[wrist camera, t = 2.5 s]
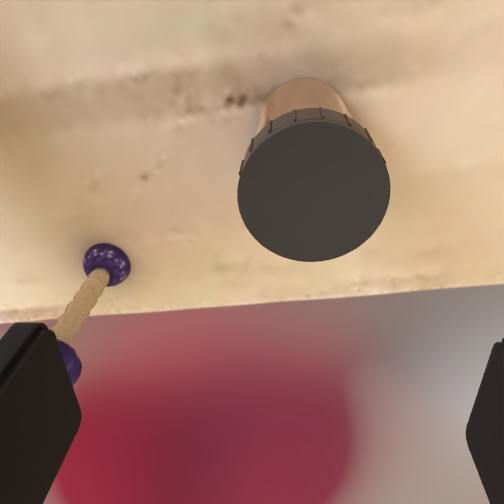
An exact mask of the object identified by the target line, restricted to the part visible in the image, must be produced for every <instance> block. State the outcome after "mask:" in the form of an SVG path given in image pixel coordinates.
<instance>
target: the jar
mask: <svg viewBox="0 0 504 504" xmlns="http://www.w3.org/2000/svg"><path fill="white" fill-rule="evenodd" d="M319 107H322V108H324V109H330V110H334V111H337V112H340V113H342V114H345V113H346V114H347V116H348V117H350V118H352V117H351V115H350V113H349V111H348V109H347V107H346V105H345V103H344V101H343V99H342V97H341V96H340V94H339V93H338V92H337V91H336V90H335V89H334V88H333V87H332V86H330V85H329V84H327V83H325V82H323V81H321V80H317V79H313V78H298V79H294V80H290V81H288V82H286V83H284V84H282V85H280V86H279V87H278V88H276V89H275V90H274V91H273V92H272V93H271V94H270V96H269V97H268V98H267V100H266V102H265V103H264V106H263V108H262V111H261V114H260V119H259V125H258V130H257V134H258V133H259V131H260V130H261V129H262V128H264V127H265V126H266V125H267V124H268V123H269V121H270V120H271V121H272V120H274V119H275V118H277V117H279V116H281V115H283V114H285V113H288V112H290V111H293V109H295V110H298V109H303V108H319Z"/></svg>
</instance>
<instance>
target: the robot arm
mask: <svg viewBox="0 0 504 504" xmlns="http://www.w3.org/2000/svg"><path fill="white" fill-rule="evenodd" d="M80 423H81V410H80V407H79V404H78V401H77V398H76V395H75V392H74V389H73V386H72V383H71V380H70V377H69V374H68V371H67V368H66V365H65V362H64V359H63V356H62V353H61V350H60V347H59V344H58V341H57V338H56V335H55V333H54V332H53V331H52V330H49V329H48V328H47V326H46V325H45V324H43V323H19V322H18V323H15V324H14V325H12V327H10V329H9V330H8V331H7V332H6V333H5V335H4V336H3V337H2V338H1V340H0V504H43V502H44V500H45V498H46V496H47V494H48V492H49V490H50V488H51V486H52V483H53V481H54V479H55V477H56V475H57V473H58V471H59V469H60V467H61V465H62V462H63V460H64V458H65V456H66V454H67V452H68V450H69V448H70V446H71V443H72V441H73V439H74V437H75V435H76V433H77V431H78V429H79V426H80ZM466 439H467V444H468V447H469V450H470V452H471V455H472V458H473V460H474V463H475V465H476V468H477V470H478V473H479V476H480V478H481V481H482V484H483V486H484V489H485V491H486V494H487V497H488V499H489V502H490V504H504V338H503V340H502V342H497V343H495V344H494V346H493V348H492V351H491V354H490V357H489V360H488V363H487V366H486V369H485V372H484V376H483V378H482V381H481V385H480V388H479V391H478V394H477V397H476V400H475V403H474V406H473V409H472V412H471V415H470V418H469V421H468V424H467V427H466Z"/></svg>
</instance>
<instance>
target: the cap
mask: <svg viewBox="0 0 504 504" xmlns="http://www.w3.org/2000/svg"><path fill="white" fill-rule="evenodd" d="M385 164H386V161H385V160H384V158H383V156H382V154H381V152H380V151H379V149H377V147H376V145H375V144H374V142H373V140H372V138H371V136H370V134H369V132H368V131H367V129H366V128H365V129H364V128H363V127H362V126H361V125H360V124H358V123H357V122H356V121H355V120H353V119H352V118H350V117H348V116H347V114H346V113H345V114H342V113H340V112H337V111H334V110H330V109H324V108H322V107H319V108H303V109H298V110H295V109H293V111H290V112H288V113H285V114H283V115H281V116H279V117H277V118H275V119H274V120H272V121H271V120H270V121H269V123H268V124H267V125H266V126H265V127H264V128H262V129H261V130H260V131H259V133H258V134H257V135H256V136H255V138H252V140H251V144H250V146H249V147H248V150H247V152H246V154H245V158H244V160H242V163H241V167H240V171H239V175H240V178H239V183H238V191H237V192H238V197H237V198H238V206H239V210H240V214H241V217H242V219H243V221H244V224H245V226H246V227H247V229H248V230H249V232H250V233H251V234H252V236H253V237H254V238H255V239H256V240H257V241H258V242H259V243H260V244H261V245H263V246H264V247H265V248H267V249H268V250H270V251H272V252H273V253H275V254H277V255H280V256H282V257H285V258H288V259H292V260H297V261H304V262H316V261H325V260H330V259H334V258H337V257H340V256H342V255H345V254H347V253H349V252H351V251H353V250H354V249H356V248H357V247H359V246H360V245H362V244H363V243H364V242H365V241H366V240H367V239H368V238H370V237H371V235H372V234H373V233H374V232H375V231H376V229H377V228H378V226H379V225H380V223H381V222H382V220H383V218H384V215H385V213H386V210H387V207H388V204H389V198H390V179H389V174H388V170H387V167H386V165H385Z"/></svg>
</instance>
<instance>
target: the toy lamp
mask: <svg viewBox="0 0 504 504" xmlns="http://www.w3.org/2000/svg"><path fill="white" fill-rule="evenodd" d="M83 267H84V271H85V273H86V275H87V277H88V278H87V280H86V281H85V282H84V283H83V284H82V286H81V289H80V290H79V291H78V292H77V293H76V294H75V296H74V298H73V301H71V302H70V303H69V304H68V305H67V307H66V309H65V313H63V314H62V315H61V316H60V317H59V319H58V321H57V325H56V326H55V327H54V328H52V331H53V332H54V333H55V335H56V338H57V341H58V344H59V347H60V350H61V353H62V356H63V359H64V362H65V365H66V368H67V371H68V374H69V377H70V380H71V383H72V386H73V385H74V384H75V382H76V381H77V380H78V378H79V376H80V374H81V368H82V365H81V361H80V358H79V356H78V355H77V354H76V352H75V350H74V349H73V348H72V347H70V345H71V344H72V343H73V341H74V339H75V334H76V333H77V332H79V330H80V329H81V327H82V325H83V321H84V320H86V318H87V317H88V316H89V314H90V310H91V309H92V308H93V307H94V306H95V305H96V303H97V298H99V297H100V296H101V294H102V292H103V289H104V288H105V287H108V286H115V285H117V284H119V283H121V282H122V281H124V280H125V279H126V278H127V276H128V275H129V272H130V262H129V260H128V258H127V256H126V255H125V254H124V252H122V251H121V250H120V249H118V248H117V247H115V246H112V245H109V244H98V245H95V246H93V247H91V248H90V249H89V250H88V251H87V252H86V254H85V257H84V261H83Z"/></svg>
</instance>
